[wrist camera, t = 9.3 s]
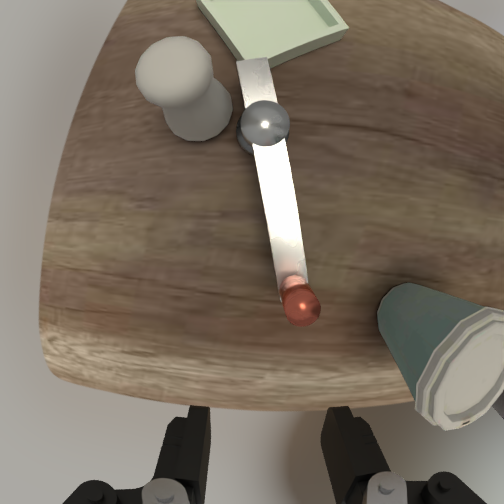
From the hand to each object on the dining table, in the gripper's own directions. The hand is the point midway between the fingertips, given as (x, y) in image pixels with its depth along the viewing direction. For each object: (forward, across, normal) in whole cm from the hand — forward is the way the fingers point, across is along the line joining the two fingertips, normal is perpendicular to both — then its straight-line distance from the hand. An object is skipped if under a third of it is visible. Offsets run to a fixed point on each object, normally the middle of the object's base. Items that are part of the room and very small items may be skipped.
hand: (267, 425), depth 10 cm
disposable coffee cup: (+20, -17, +3) cm, 26 cm away
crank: (+17, -1, -9) cm, 19 cm away
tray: (+19, 0, -26) cm, 32 cm away
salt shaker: (+20, +6, -15) cm, 25 cm away
